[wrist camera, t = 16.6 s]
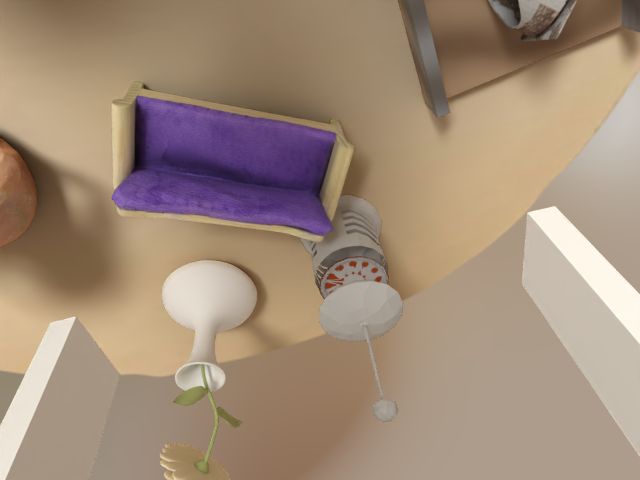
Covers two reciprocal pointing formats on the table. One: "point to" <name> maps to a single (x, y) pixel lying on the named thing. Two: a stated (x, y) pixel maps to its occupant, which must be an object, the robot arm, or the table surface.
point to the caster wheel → (534, 16)
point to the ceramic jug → (15, 195)
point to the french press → (356, 282)
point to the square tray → (491, 41)
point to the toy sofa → (225, 164)
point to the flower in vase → (204, 349)
